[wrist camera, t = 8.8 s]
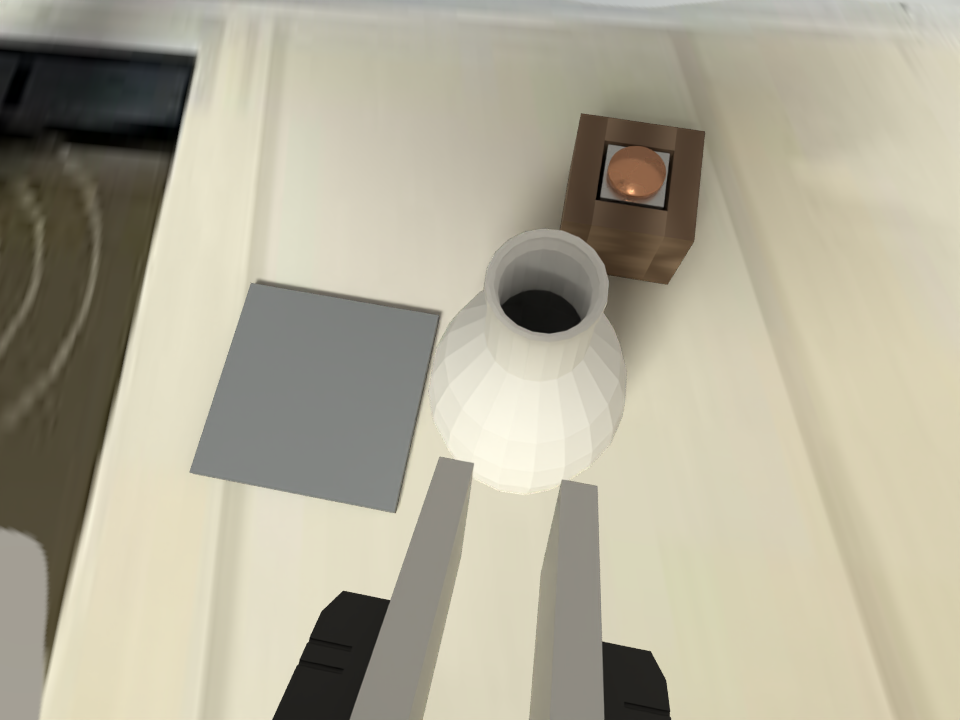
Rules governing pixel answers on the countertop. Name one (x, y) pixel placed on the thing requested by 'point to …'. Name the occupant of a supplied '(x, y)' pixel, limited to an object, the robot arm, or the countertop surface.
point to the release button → (633, 177)
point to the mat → (318, 397)
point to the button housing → (630, 229)
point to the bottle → (531, 367)
